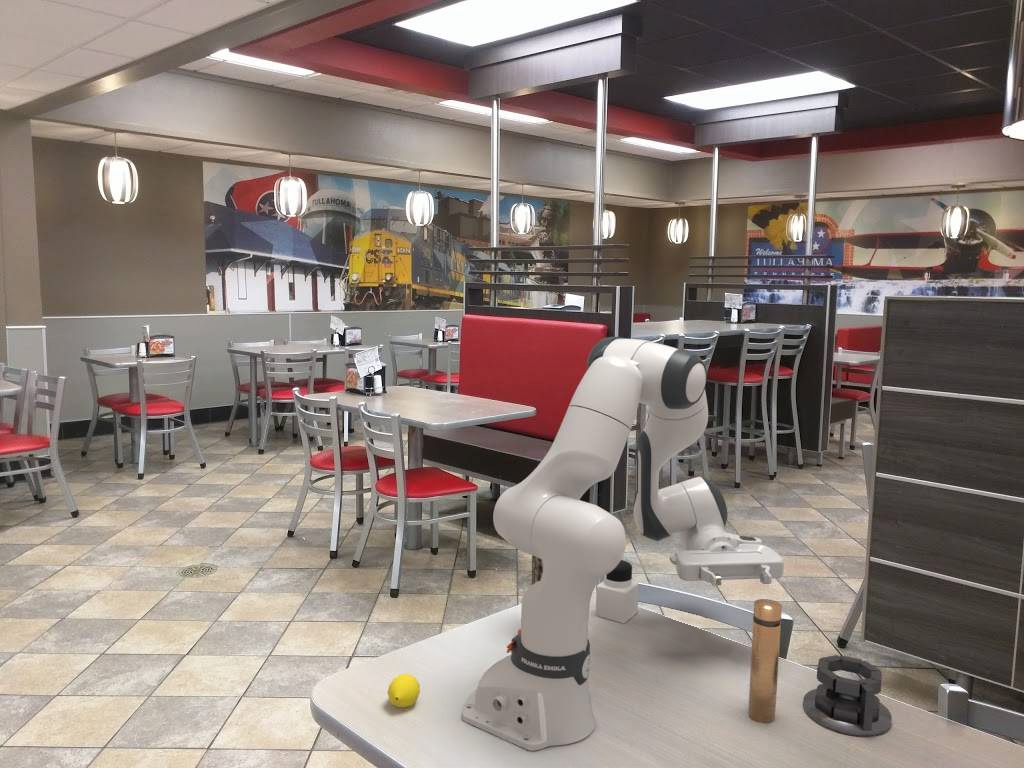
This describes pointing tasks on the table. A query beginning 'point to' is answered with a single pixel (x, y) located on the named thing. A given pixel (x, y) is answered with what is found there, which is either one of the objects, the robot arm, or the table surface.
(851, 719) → the collar stand
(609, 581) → the medicine bottle
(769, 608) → the tube
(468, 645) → the table surface
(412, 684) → the lemon
